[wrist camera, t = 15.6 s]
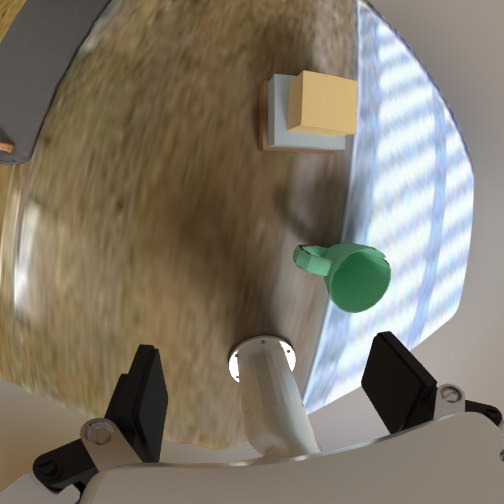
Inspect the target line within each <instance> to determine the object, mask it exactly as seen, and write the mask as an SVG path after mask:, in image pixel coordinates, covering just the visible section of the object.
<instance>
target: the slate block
mask: <svg viewBox="0 0 504 504" xmlns="http://www.w3.org/2000/svg"><path fill="white" fill-rule="evenodd" d="M296 77H297V76H293V75H282V74H274V75H273V77H272V78H271V80H270V81H269V83H268V146H272V147H296V148H312V149H326V150H341V149H345V135H344V136H337V137H331V136H324V135H317V134H310V133H302V132H293V131H287V123H288V104H289V84H290V83H291V82H292V81H293V80H294V79H295V78H296Z"/></svg>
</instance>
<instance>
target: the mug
mask: <svg viewBox="0 0 504 504" xmlns="http://www.w3.org/2000/svg"><path fill="white" fill-rule="evenodd" d="M382 257H383V258H386V256H385V255H384V254H383V253H381V252H380V251H378V250H377V249H375V248H373V247H369V246H365V245H360V244H353V243H342V244H336V245H333V246H331V247H329V248H324V247H319V246H315V245H298V246H297V247H296V248H295V251H294V254H293V259H294V262H295V264H296V266H298V267H299V268H301V269H303V270H305V271H308V272H311V273H315V274H319V275H323V276H324V280H325V283H326V286H327V289H328V292H329V295H330V297H331V300H332V301H333V303H334V304H335V305H336V306H337V307H338V308H339V309H341V310H343V311H345V312H349V313H358V312H362V311H365V310H367V309H369V308H371V307H372V306H374V305H375V304H376V303H377V302H378V301H379V300H380V299H381V298H382V297H383V295H384V294H385V292H386V291H387V289H388V286H389V283H390V280H391V268H390V265H389V263H388V262H387V261H386V260H384V259H383V258H382Z"/></svg>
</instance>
